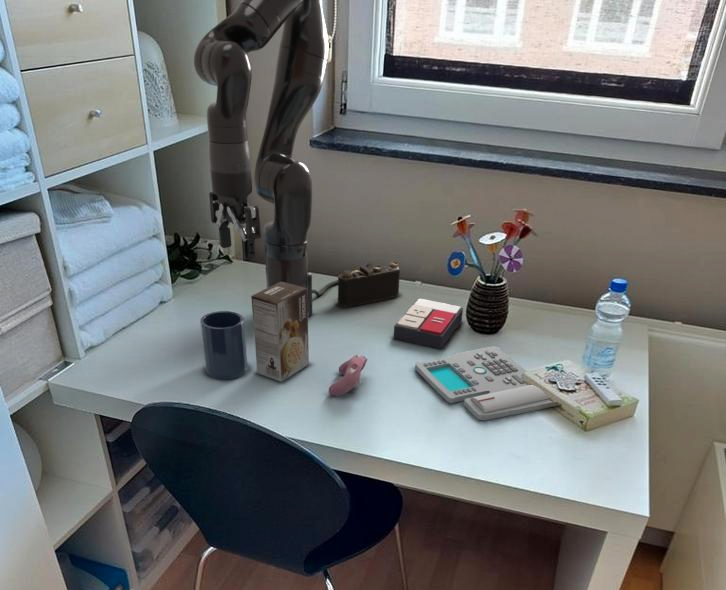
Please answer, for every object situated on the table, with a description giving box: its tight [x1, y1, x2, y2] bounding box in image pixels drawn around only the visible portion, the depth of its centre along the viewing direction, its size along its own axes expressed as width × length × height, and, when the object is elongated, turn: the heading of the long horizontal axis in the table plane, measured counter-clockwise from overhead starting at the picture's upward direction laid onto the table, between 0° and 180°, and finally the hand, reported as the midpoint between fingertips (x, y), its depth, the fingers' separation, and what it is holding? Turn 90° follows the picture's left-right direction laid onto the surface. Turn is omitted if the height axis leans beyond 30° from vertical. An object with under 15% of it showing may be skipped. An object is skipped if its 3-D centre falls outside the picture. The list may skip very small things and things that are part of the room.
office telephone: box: [414, 345, 562, 421], centre depth 131 cm, size 23×3×20 cm
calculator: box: [393, 298, 464, 350], centre depth 150 cm, size 11×4×15 cm
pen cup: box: [199, 310, 248, 381], centre depth 130 cm, size 8×8×10 cm
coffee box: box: [250, 282, 310, 383], centre depth 129 cm, size 9×6×16 cm
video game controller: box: [328, 353, 368, 397], centre depth 128 cm, size 10×5×7 cm, turn 168°
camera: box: [337, 261, 401, 308], centre depth 162 cm, size 16×7×8 cm, turn 120°
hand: (237, 252), depth 137 cm, fingers open, 8 cm apart
